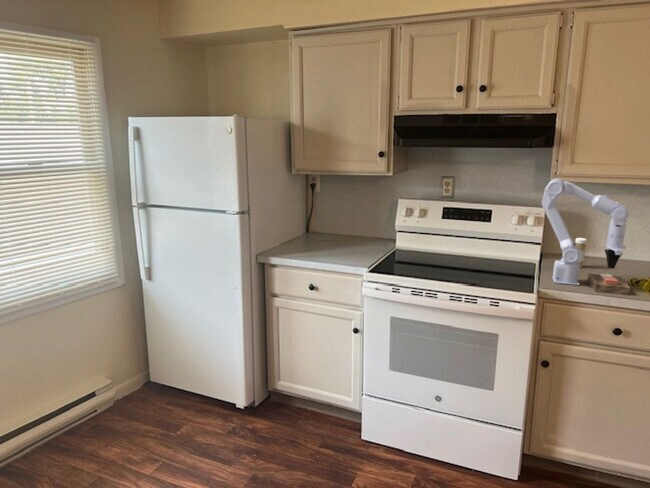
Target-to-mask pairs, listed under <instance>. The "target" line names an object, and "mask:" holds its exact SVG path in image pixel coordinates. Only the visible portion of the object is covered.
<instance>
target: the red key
mask: <svg viewBox="0 0 650 488" xmlns="http://www.w3.org/2000/svg"><path fill="white" fill-rule="evenodd" d="M603 282H604V283H605V284H613V285H617V283H618V281H617V280H616V278H608V277H604V281H603Z"/></svg>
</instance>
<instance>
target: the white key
mask: <svg viewBox="0 0 650 488" xmlns="http://www.w3.org/2000/svg"><path fill="white" fill-rule="evenodd" d="M599 276H600V278H604V277H608V278H613V277H612V276H613V275H612V274H608V273H599Z"/></svg>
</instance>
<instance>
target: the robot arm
mask: <svg viewBox="0 0 650 488" xmlns="http://www.w3.org/2000/svg"><path fill="white" fill-rule="evenodd" d="M562 193H563V195H574V196H575V197H577V198H579V199H582V200H584V201H585V202H587V203H588V202H589V203H590V204H591V207H592V208H593V209H595V210H597V211H599V212H600V213H603V214H605V215H607V216H608V215H609V216H610V222H608V223H609V225H608V230H607V238H606V244H605V247H604V248H606V249H604V253H605V255H606V264H607V268H608V269H613V270H614V269H615V268H616V266H617V263H618V261H619V259H620V258H621V257H622V256H623V249H624V250H626V249H627V246H626V245H624V241H625V235H626V229H627V228H626V227H627V224H626V223H627V221H628V220H627V219H628V218H629V216H630V215H629V210H628V208H627V206H625V205H624V204H623V203H620V202H619V201H614V200H612V199H611V198H608V196H607V194H604V195H602V194H597V195H596V194H592V193H591V192H589V191H587V190H585V189H583V188H582V187H580V186H578V185H576V184H575V183H572V182H570V181H567V180H563V179H562V178H559V177H557V178H556V177H555V178H552V179H551V180H550V181H549V182H548V183H547V185H546V187H545V188H544V191H543V196H542V200H541V206H542V208H543V210H544V212H545V214H546V217H547V218H548V221H549V223H550V225H551V228H552V229H553V231H554V233H555V235H556V238H557V240H558V242H559V245H560V249H561V251H562V257H561V259H560V260H556V259H555V260H554V262H553V263H554V264H553V271H552V280H553V282H554V284H562V285H563V284H564V285H572V286H580V282H579V281H578V278H579V272H580V271H579V270H580V268H579V266H580V261H579V260H578V259H579V257H580V255H579V254H580V248H579V247H578V246H577V245H576V242H575V241H574V239H573V238H572V237H571V234H570V233H569V231H568V230H569V229H567V226H566V224H565V221H564V220H563V218H562V216H561V214H560V211H559V209H558V207H557V204H556V203H557V202H556V201H557V200H558V198H559V196H560V195H561V194H562Z"/></svg>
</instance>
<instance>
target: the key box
mask: <svg viewBox="0 0 650 488" xmlns="http://www.w3.org/2000/svg"><path fill="white" fill-rule="evenodd" d="M599 275H600V273H599V274H595V273H588V275H587V282H588V284H589V285H590V286H591V288H592V290H593V291H594V292H595V293H605V294H615V295H626V296H630V293H631V287H630V286H629V284H628V283H627V282H626V281H625V280H624V279H623V278H622V276H621V275H620V276H619V275H611V276H612V277H613V278H616V280H617V281H618V283H617V285H613V284H605V283H604V282H603V281H604V278H600V276H599Z"/></svg>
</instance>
